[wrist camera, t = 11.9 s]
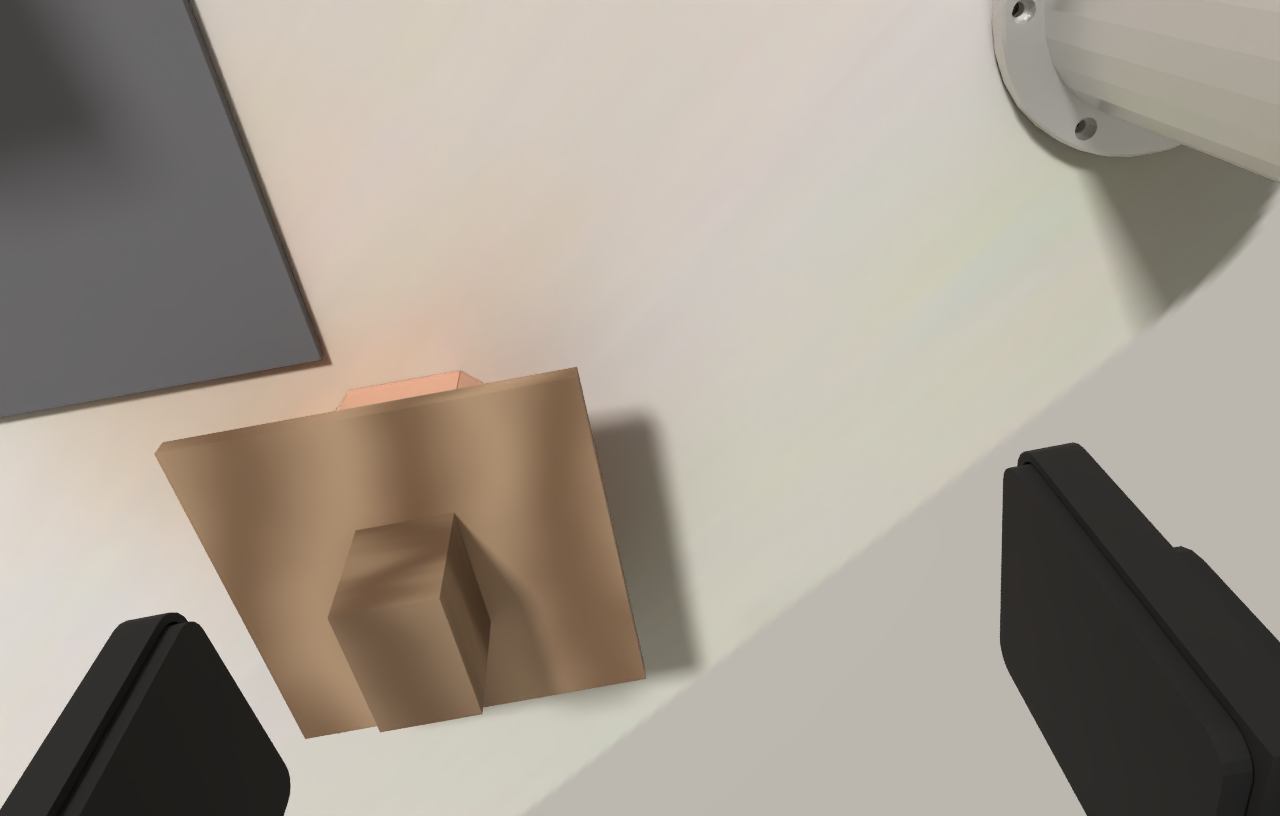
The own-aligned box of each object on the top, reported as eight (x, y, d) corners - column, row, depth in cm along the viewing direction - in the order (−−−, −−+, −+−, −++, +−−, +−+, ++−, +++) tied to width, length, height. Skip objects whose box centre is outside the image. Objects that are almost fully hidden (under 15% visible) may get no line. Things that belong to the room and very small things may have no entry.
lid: (577, 367, 34) (580, 449, 28) (644, 665, 42) (655, 770, 37) (162, 442, 34) (93, 537, 29) (309, 724, 42) (275, 837, 37)
